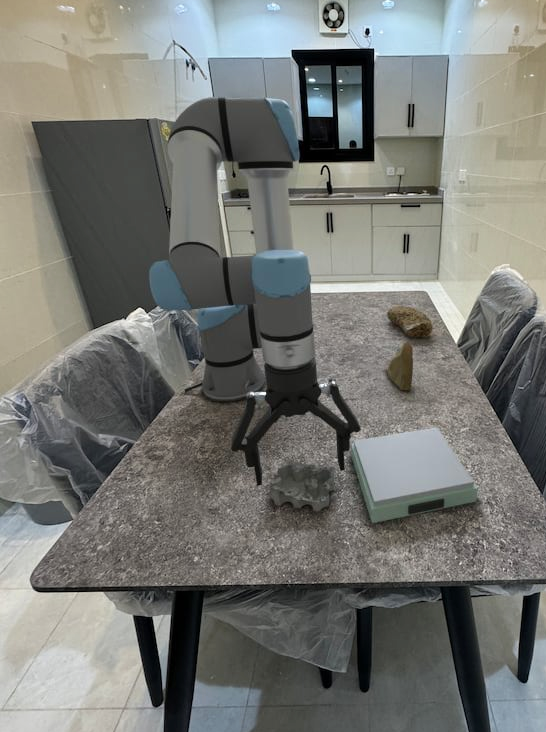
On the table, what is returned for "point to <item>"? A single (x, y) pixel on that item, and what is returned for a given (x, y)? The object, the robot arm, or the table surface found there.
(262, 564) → the table surface
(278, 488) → the egg carton
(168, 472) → the table surface
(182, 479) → the table surface
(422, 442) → the scale
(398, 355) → the rock
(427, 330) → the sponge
